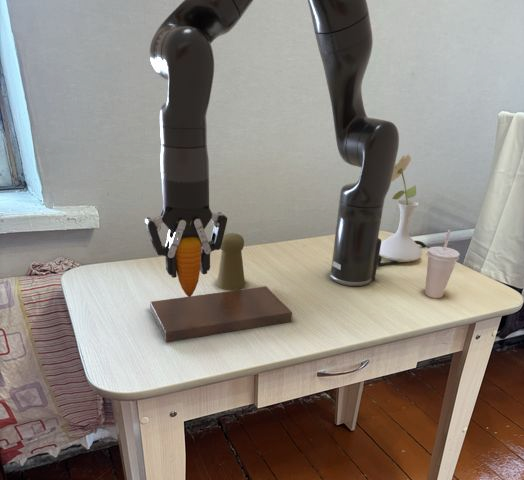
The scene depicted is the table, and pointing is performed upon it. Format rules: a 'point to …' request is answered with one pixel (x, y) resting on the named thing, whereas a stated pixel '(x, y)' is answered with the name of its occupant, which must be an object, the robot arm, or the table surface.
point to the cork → (231, 263)
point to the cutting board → (218, 313)
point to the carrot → (188, 263)
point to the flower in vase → (402, 223)
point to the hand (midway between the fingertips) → (188, 273)
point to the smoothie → (439, 268)
